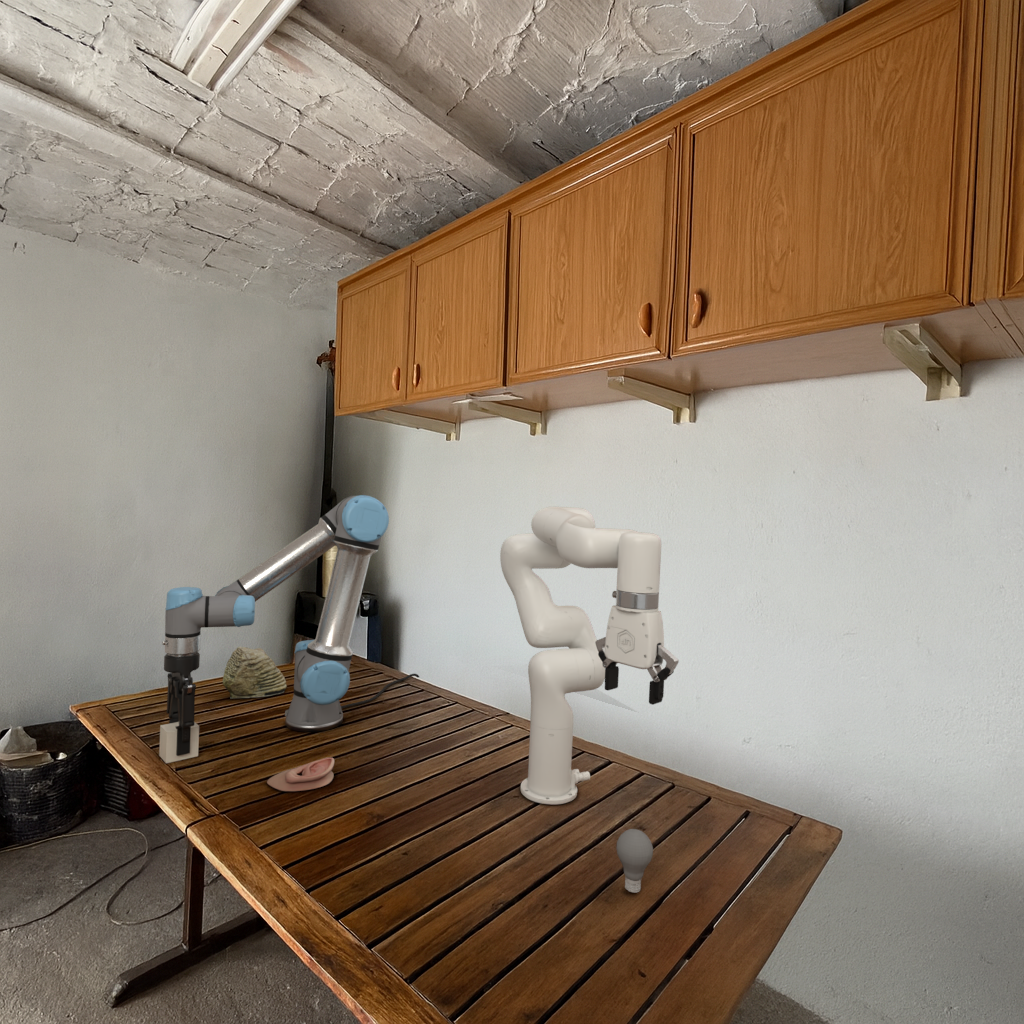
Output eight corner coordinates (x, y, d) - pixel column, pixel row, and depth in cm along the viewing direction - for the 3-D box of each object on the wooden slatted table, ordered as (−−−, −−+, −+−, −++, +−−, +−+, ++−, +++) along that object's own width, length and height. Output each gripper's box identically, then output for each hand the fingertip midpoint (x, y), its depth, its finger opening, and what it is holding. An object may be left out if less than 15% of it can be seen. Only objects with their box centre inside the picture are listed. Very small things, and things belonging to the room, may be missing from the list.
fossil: (218, 695, 195) (220, 647, 195) (278, 685, 208) (279, 640, 207) (228, 703, 189) (230, 653, 188) (289, 692, 201) (290, 645, 201)
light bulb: (610, 879, 108) (613, 822, 108) (644, 879, 109) (647, 822, 109) (619, 902, 102) (622, 840, 102) (655, 901, 103) (658, 840, 103)
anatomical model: (259, 769, 136) (288, 749, 147) (258, 787, 136) (288, 766, 147) (316, 777, 133) (341, 756, 145) (315, 796, 133) (340, 773, 145)
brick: (159, 755, 151) (160, 725, 150) (190, 748, 155) (191, 719, 155) (165, 763, 146) (166, 732, 146) (198, 756, 151) (199, 725, 151)
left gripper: (154, 647, 155) (150, 741, 155) (176, 663, 141) (173, 766, 142) (187, 643, 160) (184, 734, 160) (212, 659, 146) (208, 758, 147)
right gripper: (586, 595, 117) (582, 687, 118) (666, 610, 105) (661, 713, 105) (611, 593, 123) (607, 680, 123) (691, 606, 110) (686, 704, 110)
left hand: (178, 749), depth 151 cm, fingers closed on brick, 6 cm apart
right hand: (632, 695), depth 114 cm, fingers open, 9 cm apart
